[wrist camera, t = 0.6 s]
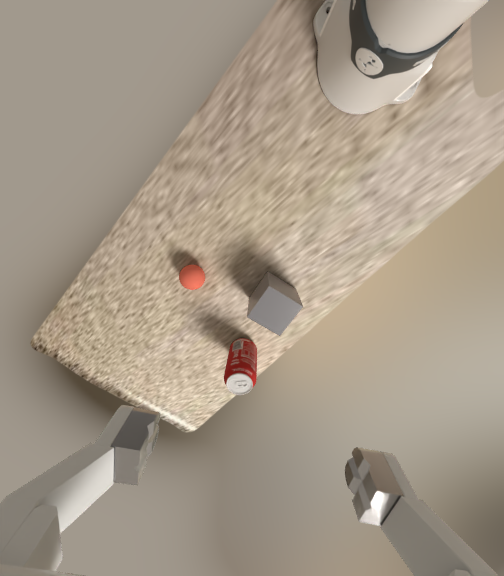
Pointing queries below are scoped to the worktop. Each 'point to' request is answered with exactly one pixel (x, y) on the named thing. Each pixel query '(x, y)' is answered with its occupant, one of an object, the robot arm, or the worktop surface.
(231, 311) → the worktop surface
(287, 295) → the matte gray cube
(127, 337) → the worktop surface
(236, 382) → the beverage can
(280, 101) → the worktop surface
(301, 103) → the worktop surface
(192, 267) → the ball
